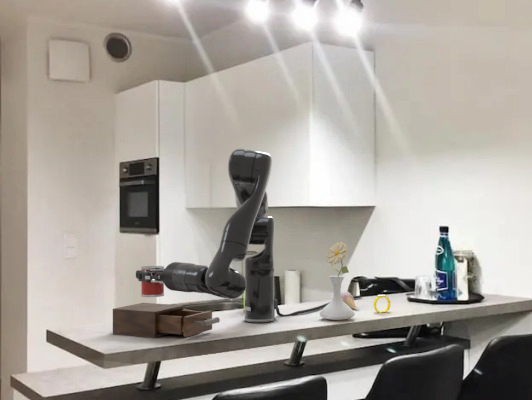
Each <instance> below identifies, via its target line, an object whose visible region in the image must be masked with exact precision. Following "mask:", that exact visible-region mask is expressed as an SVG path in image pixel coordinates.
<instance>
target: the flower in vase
mask: <svg viewBox="0 0 532 400" xmlns="http://www.w3.org/2000/svg"><path fill="white" fill-rule="evenodd" d="M328 249H329V250H328V251H327V254H326V258H327V259H326V260H327V263H329V264H330V267H331V268H332V269H333V270H335V271H336V272H337V273H338V274H337V275H329V276H328V277H329V279H330V280H331V283H332V286H333V289H332V290H333V295H332V296H333V297H332V299H331V301H329V302H330V303H329V302H328V303H329V304H328V305H326V306H325V307H324V308H321V309H320V311H319V316H320V317H321V318H323V319H325V320H330V321H331V320H333V321H343V320H349V319H351V318H353V317H355V314H356V313H355V311H354V309H353V308H351V307H349V306H348V305H347V304H345V303H344V302H343V301H342V299H341V293H342V289H341V288H342V283H343V280H344V279H345V277H346V276H345V275H342V274H348V273H350V272H349V269H348V266H347V265H345V266H343V265H344V264H343V260H344V259H345V258H346V255H348V245H347V244H346V243H344V242H342V241H340V242H335V244H332V246H331V247H329V248H328ZM339 263H341V267H340V270H339V269H338V268H336V267H334V266H333V265H336V264H339Z"/></svg>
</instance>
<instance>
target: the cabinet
mask: <svg viewBox="0 0 532 400" xmlns="http://www.w3.org/2000/svg"><path fill="white" fill-rule="evenodd" d="M184 308H185V306H184V304H183V305H182V304H169V303H154V302H153V303H152V302H139V303H134V304H129V305H124V306H120V307H115V308H114V307H113V308H112V335H119V336H129V337H143V338H152V339H156V338H159V337H163V336H167V335H171V334H170V333H158V332H157V315H156V314H161V313H165V312H169V311H174V310H185V309H184Z"/></svg>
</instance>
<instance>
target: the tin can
mask: <svg viewBox="0 0 532 400" xmlns="http://www.w3.org/2000/svg"><path fill="white" fill-rule="evenodd" d="M162 268H165V266H164V265H144V266H143V265H142V266H140V270H141V271H144V270H146V271H150V270H151V269H162ZM155 274H156V271H155V273H154V275H155ZM155 280H156V279H155ZM140 283H141V285H140V286H141V291H140V292H141V293H140V296H141V297H142V298H159V297H164V296H165V284H163V283H159V282H150V283H148V282H143V281H140Z"/></svg>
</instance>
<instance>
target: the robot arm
mask: <svg viewBox="0 0 532 400" xmlns="http://www.w3.org/2000/svg"><path fill="white" fill-rule="evenodd" d="M272 166H273V158H272V156H271V154H270V153H269V152H264V151H258V150H252V149H246V148H237V149H234V150H233V151H232V152H231V153H230V156H229V158H228V163H227V172H228V177H229V178H228V179H229V181H230V184H231V186H232V189H233V191H234V199H235V206H236V210H235V211H234V212H233V213H232V214H231V215H230V216H229V218H228V219H227V220H226V222H225V224H224V227H223V229H222V233H221V239H220V243H219V245H218V246H219V247H218V249H217V251H216V253H215V255H214V257H213V258H212V260H211V262H210V264H209V265H203V264H195V263H191V262H181V261H180V262H179V261H174V262H171V263H169V264H167V266H165V267H164V268H162V269H151V270H150V271H146V270H144V271H141V269H140V270H138V269H137V270H136V271H135V278H136V279H137V280H138V282H141V281H143V282H148V283H150V282H159V283H163V284H164V287H166V288H167V290H168V289H169V290H170V291H174V292H181V293H182V292H183V293H198V294H208V295H212V296H214V297H218V298H222V299H226V300H235V299H238V298H240V297H241V296H242V295H243V294H244V321H245V322H247V323H257V324H259V323H261V324H262V323H271V322H274V321H275V317H276V316H275V315H277V316H278V317H280V318H283V317H285V318H286V317H293V316H297V315H301V314H307V313H310V312H315V311H318V310H322V309H323V308H324V307H325V306H326V305H328V304H329V303H330V302H331V301H329V302H326V303H324V304H321V305H318V306H315V307H312V308H307V309H303V310H297V311H293V312H290V313H287V314H283V313H281V312H280V308H279V300H278V299H276V297H275V294H276V293H275V233H276V232H275V231H276V223H275V219H274V217H273V216H271V215H266V214H267V212H268V209H269V199H268V192H267V188H268V185H269V182H270V179H271V174H272V168H273V167H272ZM249 246H263V248H262V249H261V250H259V252H256V253H255V254H252V255H249V256H247V253H248V249H249ZM242 261H244V274H242V272H240V271H238V270H236V269H234V268H232V267H230V266H231V263H232V262H236V263H237V262H238V263H239V262H242ZM155 271H156V274H155V275H154V273H155ZM155 279H156V280H155ZM352 296H353V298H354V300H355V299H361V298H362V295H361V294H359V295H352ZM275 313H276V314H275Z"/></svg>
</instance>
